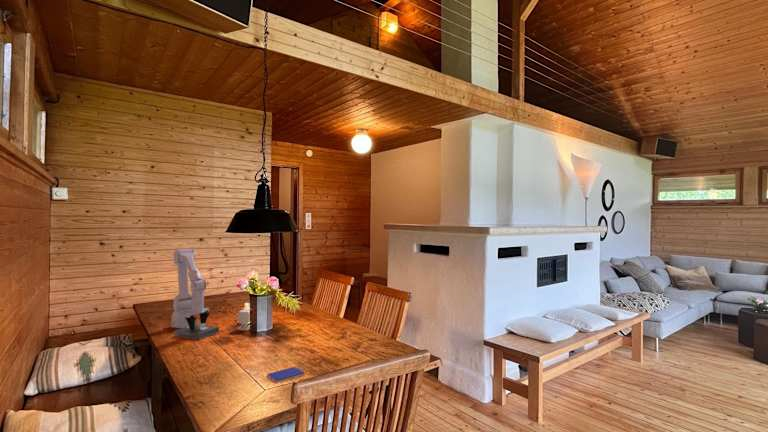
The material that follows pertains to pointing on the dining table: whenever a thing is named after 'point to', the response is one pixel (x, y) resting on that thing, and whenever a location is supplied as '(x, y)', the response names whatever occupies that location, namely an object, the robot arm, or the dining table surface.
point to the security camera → (244, 319)
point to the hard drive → (285, 374)
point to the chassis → (196, 332)
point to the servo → (199, 326)
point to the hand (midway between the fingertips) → (197, 327)
